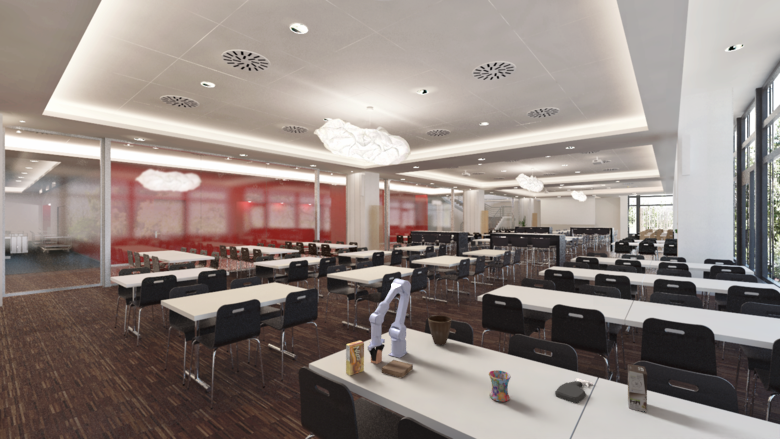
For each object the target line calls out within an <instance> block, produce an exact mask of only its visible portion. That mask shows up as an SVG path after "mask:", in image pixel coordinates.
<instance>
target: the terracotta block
mask: <svg viewBox="0 0 780 439" xmlns="http://www.w3.org/2000/svg"><path fill="white" fill-rule="evenodd" d="M381 362H383V351H382V350H378V351H377V355H376V361H372V358H371V357H370V363H371V364H376V365H378V364H380V363H381Z"/></svg>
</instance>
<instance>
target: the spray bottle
mask: <svg viewBox="0 0 780 439" xmlns="http://www.w3.org/2000/svg"><path fill="white" fill-rule="evenodd" d="M590 385H591V386H593V385H594V383H593V382H591V381H590V380H589V381H588V380H586V379H585V380H584V379H581V378H578V377H576V378H575V381H574V380H573V381H570V382H564V383H563V384H560V385H559V386H558V388H557V389H556V390H555V391H554V395H555V397H557V398H559V399H561V400H564V401H567V402H570V403H572V402H573V403H572V404H578V403H579V404H580V402H581V401H583V400H584V399H585V397H587V393H586V391H585V389H583V388H582V387H584V386H586V387H588V388H589V387H590Z"/></svg>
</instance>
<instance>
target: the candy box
mask: <svg viewBox="0 0 780 439" xmlns="http://www.w3.org/2000/svg"><path fill="white" fill-rule="evenodd" d="M345 361H346V362H345V373H346V375H348V376H353V375H356V374H358V373H362V372H364V371H365V342H364V341H362V340H357V341H353V342H350V343H346V345H345Z"/></svg>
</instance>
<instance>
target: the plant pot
mask: <svg viewBox="0 0 780 439" xmlns="http://www.w3.org/2000/svg"><path fill="white" fill-rule="evenodd" d="M427 321H428V326H429V331H430V335H431V338H432V341H433V343H434V344H435V345H436V346H445V345H446V344H447V342H448V338H449V336H450V332H451V328H452V327H451V326H452V317H449V316H447V315H432V316H431V315H430V316H429V317H428V318H427Z"/></svg>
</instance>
